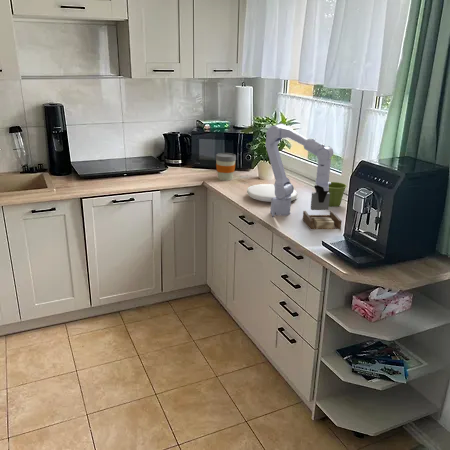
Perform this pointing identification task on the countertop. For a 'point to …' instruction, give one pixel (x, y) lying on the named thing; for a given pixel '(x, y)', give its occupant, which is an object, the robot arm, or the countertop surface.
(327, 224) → the birch offcut
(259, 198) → the plate
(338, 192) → the plant pot
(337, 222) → the walnut rack
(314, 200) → the gray block
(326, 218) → the birch offcut
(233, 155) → the reusable coffee cup
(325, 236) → the countertop surface
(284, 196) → the robot arm
